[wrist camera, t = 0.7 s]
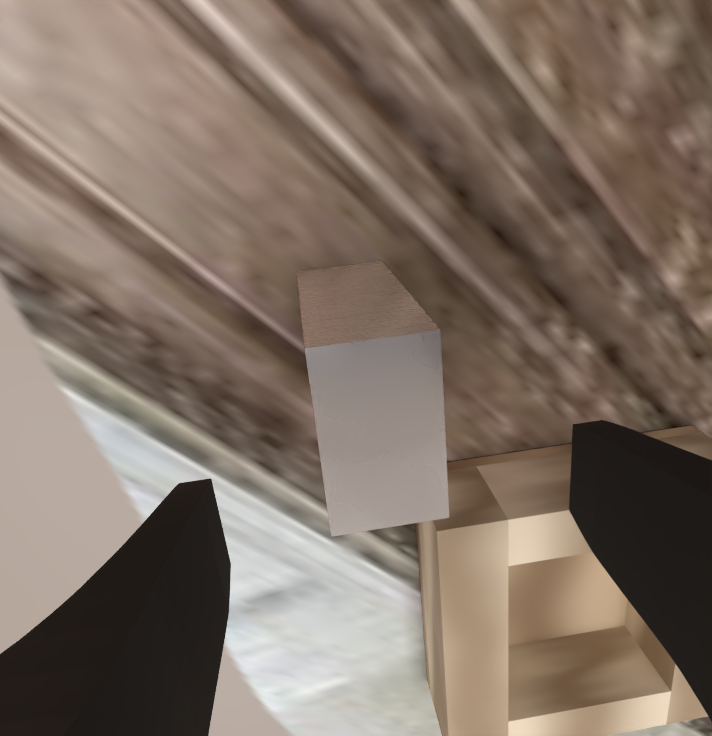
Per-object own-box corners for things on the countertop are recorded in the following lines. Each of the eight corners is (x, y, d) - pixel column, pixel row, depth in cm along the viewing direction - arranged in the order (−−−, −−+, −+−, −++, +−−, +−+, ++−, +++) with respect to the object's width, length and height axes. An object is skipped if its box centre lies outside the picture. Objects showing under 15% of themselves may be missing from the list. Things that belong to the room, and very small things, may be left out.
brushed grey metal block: (382, 260, 20) (440, 330, 12) (392, 390, 22) (449, 517, 14) (296, 271, 20) (304, 348, 12) (314, 401, 22) (331, 536, 14)
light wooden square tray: (691, 425, 24) (768, 478, 20) (662, 637, 28) (721, 713, 25) (411, 467, 23) (436, 531, 19) (427, 680, 28) (450, 765, 24)
